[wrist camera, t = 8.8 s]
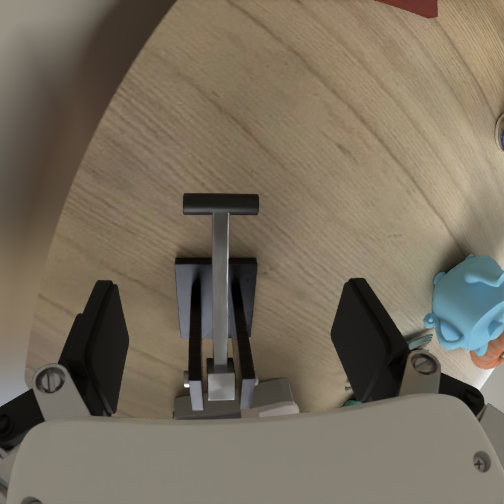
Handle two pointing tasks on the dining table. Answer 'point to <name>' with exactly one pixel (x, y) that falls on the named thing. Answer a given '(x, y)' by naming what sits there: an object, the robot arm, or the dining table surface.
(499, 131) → the pill bottle
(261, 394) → the instant camera
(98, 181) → the dining table surface
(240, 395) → the bracket
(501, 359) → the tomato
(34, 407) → the robot arm
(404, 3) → the block
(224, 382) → the lever
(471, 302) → the teapot
